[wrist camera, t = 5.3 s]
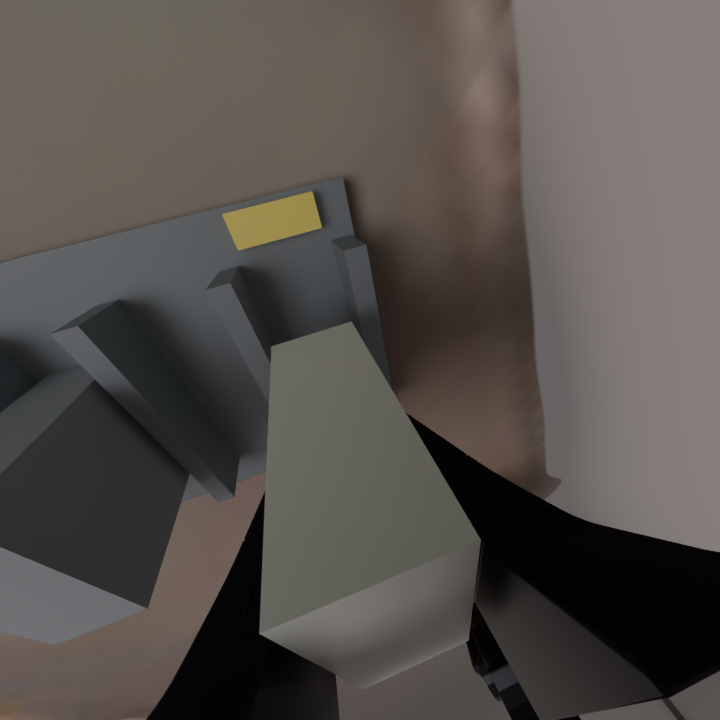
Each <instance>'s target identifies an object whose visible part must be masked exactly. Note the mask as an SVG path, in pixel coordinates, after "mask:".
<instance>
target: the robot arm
mask: <svg viewBox="0 0 720 720" xmlns="http://www.w3.org/2000/svg"><path fill="white" fill-rule="evenodd" d="M405 413H406V412H405ZM406 414H407V413H406ZM407 416H408V418H409V419H410V421H411V423H412V424H413V426H414V428H415V430H416V431H417V433H418V435H419V436H420V438H421V440H422V441H423V443H424V445H425V446H426V448H427V450H428V451H429V453H430V455H431V457H432V458H433V460H434V462H435V463H436V465H437V467H438V468H439V470H440V472H441V473H442V475H443V477H444V479H445V480H446V482H447V484H448V485H449V487H450V489H451V490H452V492H453V494H454V495H455V497H456V499H457V501H458V502H459V504H460V506H461V507H462V509H463V511H464V512H465V514H466V516H467V517H468V519H469V521H470V522H471V524H472V526H473V528H474V529H475V531H476V533H477V534H478V536H479V538H480V539H481V543H480V551H479V559H478V567H477V576H476V584H475V592H474V600H473V609H472V617H471V625H470V633H469V641H467V642H466V643H467V647H468V651H469V655H470V658H471V662H472V665H473V668H474V670H475V672H476V673H477V674H478V675H479V676H481V677H482V678H483V679H484V681H485V682H486V684H487V686H488V688H489V689H490V691H491V693H492V694H493V696H494V697H495V698H496V699H497V701H499V702H501V701H503V703H504V705H505V707H506V709H507V711H508V713H509V715H510V717H511V719H512V720H720V552H715V551H710V550H704V549H700V548H695V547H691V546H687V545H682V544H679V543H674V542H670V541H665V540H662V539H657V538H653V537H649V536H645V535H641V534H636V533H632V532H628V531H624V530H619V529H615V528H611V527H606V526H603V525H598V524H595V523H592V522H589V521H586V520H583V519H581V518H578V517H576V516H573V515H571V514H569V513H567V512H565V511H563V510H561V509H559V508H557V507H556V506H554V505H552V504H550V503H548V502H546V501H545V500H543V499H541V498H539V497H537V496H536V495H534V494H532V493H530V492H528V491H526V490H525V489H523V488H521V487H519V486H517V485H516V484H514V483H512V482H510V481H508V480H507V479H505V478H503V477H501V476H500V475H498V474H496V473H495V472H493V471H491V470H490V469H488V468H487V467H485V466H484V465H482V464H481V463H479V462H477V461H476V460H475V459H473V458H472V457H470V456H469V455H467V456H466V453H464V452H463V451H461V450H460V449H458V448H457V447H455V446H454V445H452V444H451V443H450V442H448V441H447V440H445V439H444V438H442V437H441V436H439V435H438V434H436V433H435V432H433V431H432V430H430V429H429V428H428V427H426V426H425V425H423V424H422V423H420V422H419V421H417V420H416V419H414V418H413V417H411V416H410V415H408V414H407ZM264 510H265V493H264V495H263V497H262V500H261V502H260V504H259V506H258V509H257V511H256V513H255V516H254V518H253V520H252V522H251V525H250V527H249V529H248V532H247V534H246V536H245V541H243V543H242V545H241V547H240V550H239V552H238V554H237V556H236V559H235V561H234V563H233V565H232V567H231V569H230V572H229V574H228V576H227V578H226V580H225V582H224V584H223V586H222V588H221V590H220V592H219V594H218V596H217V598H216V600H215V602H214V604H213V606H212V607H211V609H210V611H209V613H208V615H207V617H206V619H205V621H204V623H203V624H202V626H201V628H200V630H199V632H198V634H197V636H196V638H195V639H194V641H193V643H192V645H191V647H190V649H189V651H188V653H187V654H186V656H185V658H184V660H183V662H182V664H181V666H180V668H179V670H178V671H177V673H176V675H175V677H174V678H173V680H172V682H171V684H170V685H169V687H168V689H167V690H166V692H165V693H164V695H163V697H162V698H161V699H160V701H159V702H158V704H157V705H156V707H155V708H154V710H153V711H152V712H151V714H150V715H149V716H148V718H147V719H146V720H339V709H338V698H337V686H336V675H335V674H334V673H332V672H330V671H328V670H326V669H324V668H322V667H320V666H319V665H317V664H315V663H313V662H311V661H309V660H307V659H306V658H304V657H302V656H300V655H298V654H296V653H294V652H292V651H291V650H289V649H287V648H285V647H283V646H281V645H279V644H277V643H276V642H274V641H272V640H270V639H268V638H266V637H264V636H262V635H261V634H259V630H260V606H261V582H262V558H263V534H264Z"/></svg>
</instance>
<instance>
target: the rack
mask: <svg viewBox="0 0 720 720" xmlns="http://www.w3.org/2000/svg"><path fill="white" fill-rule="evenodd" d="M351 321H352V323H353V325H354V326H355V328H356V330H357V332H358V333H359V335H360V337H361V338H362V340H363V342H364V343H365V345H366V347H367V348H368V350H369V352H370V353H371V355H372V357H373V359H374V360H375V362H376V364H377V365H378V367H379V369H380V370H381V372H382V374H383V375H384V377H385V379H386V381H387V382H388V384H389V386H390V387H391V389H392V391H393V388H392V383H391V377H390V372H389V366H388V361H387V355H386V350H385V344H384V339H383V333H382V328H381V322H380V317H379V311H378V306H377V300H376V295H375V289H374V284H373V278H372V272H371V267H370V261H369V256H368V250H367V245H366V244H365V243H363V242H361V241H359V240H357V239H356V238H355V235H354V230H353V225H352V220H351V216H350V211H349V206H348V201H347V196H346V191H345V186H344V181H343V177H339V178H335V179H331V180H327V181H323V182H319V183H315V184H311V185H307V186H303V187H299V188H295V189H291V190H287V191H283V192H279V193H275V194H271V195H267V196H264V197H260V198H256V199H252V200H248V201H244V202H240V203H236V204H232V205H228V206H224V207H220V208H216V209H212V210H208V211H204V212H200V213H196V214H192V215H188V216H184V217H180V218H176V219H172V220H168V221H165V222H161V223H157V224H153V225H149V226H145V227H141V228H137V229H133V230H129V231H125V232H121V233H117V234H113V235H109V236H105V237H101V238H97V239H93V240H89V241H85V242H81V243H77V244H73V245H69V246H66V247H62V248H58V249H54V250H50V251H46V252H42V253H38V254H34V255H30V256H26V257H22V258H18V259H14V260H10V261H6V262H2V263H0V632H2V633H7V634H11V635H15V636H20V637H24V638H28V639H33V640H37V641H41V642H46V643H50V644H54V645H57V644H60V643H62V642H65V641H68V640H70V639H73V638H75V637H78V636H80V635H83V634H85V633H88V632H90V631H93V630H95V629H98V628H100V627H103V626H105V625H108V624H110V623H113V622H115V621H118V620H120V619H123V618H125V617H128V616H130V615H133V614H135V613H138V612H140V611H143V610H145V609H148V606H149V603H150V599H151V596H152V593H153V590H154V587H155V584H156V580H157V577H158V574H159V571H160V568H161V564H162V561H163V558H164V555H165V552H166V548H167V545H168V542H169V539H170V536H171V532H172V529H173V526H174V523H175V520H176V516H177V513H178V510H179V507H180V504H181V502H183V501H186V500H189V499H192V498H194V497H197V496H200V495H203V494H206V493H208V492H209V493H210V494H211V495H212V496H213V497H214V498H215V499H216V500H217V501H218V502H221V501H223V500H226V499H229V498H232V497H234V496H235V489H236V482H239V481H241V480H244V479H247V478H250V477H252V476H255V475H258V474H261V473H264V472H266V462H267V438H268V415H269V391H270V367H271V346H274V345H278V344H281V343H284V342H287V341H290V340H294V339H297V338H300V337H303V336H306V335H310V334H313V333H316V332H319V331H322V330H326V329H329V328H332V327H335V326H338V325H342V324H345V323H348V322H351Z"/></svg>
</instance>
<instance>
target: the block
mask: <svg viewBox="0 0 720 720" xmlns="http://www.w3.org/2000/svg"><path fill="white" fill-rule="evenodd" d="M480 543H481V539H480V538H479V536H478V534H477V533H476V531H475V529H474V528H473V526H472V524H471V522H470V521H469V519H468V517H467V516H466V514H465V512H464V511H463V509H462V507H461V506H460V504H459V502H458V501H457V499H456V497H455V495H454V494H453V492H452V490H451V489H450V487H449V485H448V484H447V482H446V480H445V479H444V477H443V475H442V473H441V472H440V470H439V468H438V467H437V465H436V463H435V462H434V460H433V458H432V457H431V455H430V453H429V451H428V450H427V448H426V446H425V445H424V443H423V441H422V440H421V438H420V436H419V435H418V433H417V431H416V430H415V428H414V426H413V424H412V423H411V421H410V419H409V418H408V416H407V414H406V413H405V411H404V409H403V408H402V406H401V404H400V402H399V401H398V399H397V397H396V396H395V394H394V392H393V391H392V389H391V387H390V386H389V384H388V382H387V381H386V379H385V377H384V375H383V374H382V372H381V370H380V369H379V367H378V365H377V364H376V362H375V360H374V359H373V357H372V355H371V353H370V352H369V350H368V348H367V347H366V345H365V343H364V342H363V340H362V338H361V337H360V335H359V333H358V332H357V330H356V328H355V326H354V325H353V323H352V321H351V322H348V323H345V324H342V325H338V326H335V327H332V328H329V329H326V330H322V331H319V332H316V333H313V334H310V335H306V336H303V337H300V338H297V339H294V340H290V341H287V342H284V343H281V344H278V345H274V346H271V367H270V391H269V415H268V438H267V462H266V486H265V510H264V534H263V558H262V582H261V606H260V630H259V634H261V635H262V636H264V637H266V638H268V639H270V640H272V641H274V642H276V643H277V644H279V645H281V646H283V647H285V648H287V649H289V650H291V651H292V652H294V653H296V654H298V655H300V656H302V657H304V658H306V659H307V660H309V661H311V662H313V663H315V664H317V665H319V666H320V667H322V668H324V669H326V670H328V671H330V672H332V673H334V674H335V675H338V676H339V677H341V678H343V679H345V680H347V681H349V682H351V683H352V684H354V685H356V686H358V687H360V688H362V689H366V688H368V687H370V686H372V685H374V684H376V683H379V682H381V681H383V680H385V679H387V678H389V677H391V676H394V675H396V674H398V673H400V672H402V671H404V670H407V669H409V668H411V667H413V666H415V665H417V664H419V663H421V662H424V661H426V660H428V659H430V658H432V657H434V656H437V655H439V654H441V653H443V652H445V651H447V650H450V649H452V648H454V647H456V646H458V645H460V644H462V643H465V642H467V641H469V633H470V625H471V617H472V609H473V600H474V592H475V584H476V576H477V567H478V559H479V551H480Z"/></svg>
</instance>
